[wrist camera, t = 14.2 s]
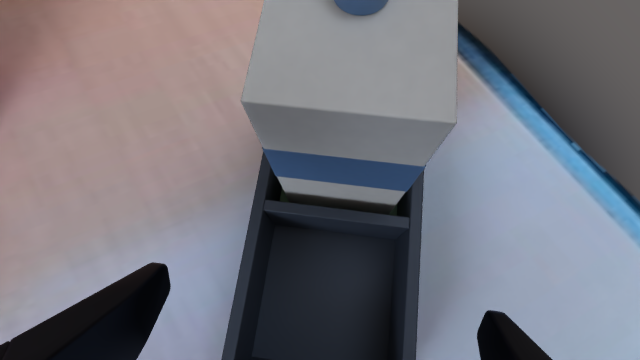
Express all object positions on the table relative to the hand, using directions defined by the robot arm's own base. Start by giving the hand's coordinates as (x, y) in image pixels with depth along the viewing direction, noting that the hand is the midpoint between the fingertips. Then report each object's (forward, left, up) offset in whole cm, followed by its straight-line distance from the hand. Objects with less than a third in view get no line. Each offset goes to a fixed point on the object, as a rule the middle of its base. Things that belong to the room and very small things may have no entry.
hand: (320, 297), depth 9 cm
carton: (+5, -6, -11) cm, 13 cm away
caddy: (+2, -3, -11) cm, 12 cm away
